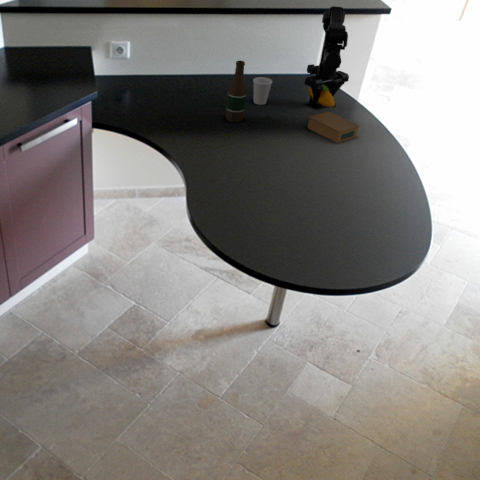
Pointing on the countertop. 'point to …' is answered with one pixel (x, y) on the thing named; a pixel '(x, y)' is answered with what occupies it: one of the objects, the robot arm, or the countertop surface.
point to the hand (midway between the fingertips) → (322, 100)
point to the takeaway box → (333, 126)
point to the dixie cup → (261, 90)
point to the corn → (324, 97)
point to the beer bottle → (236, 95)
